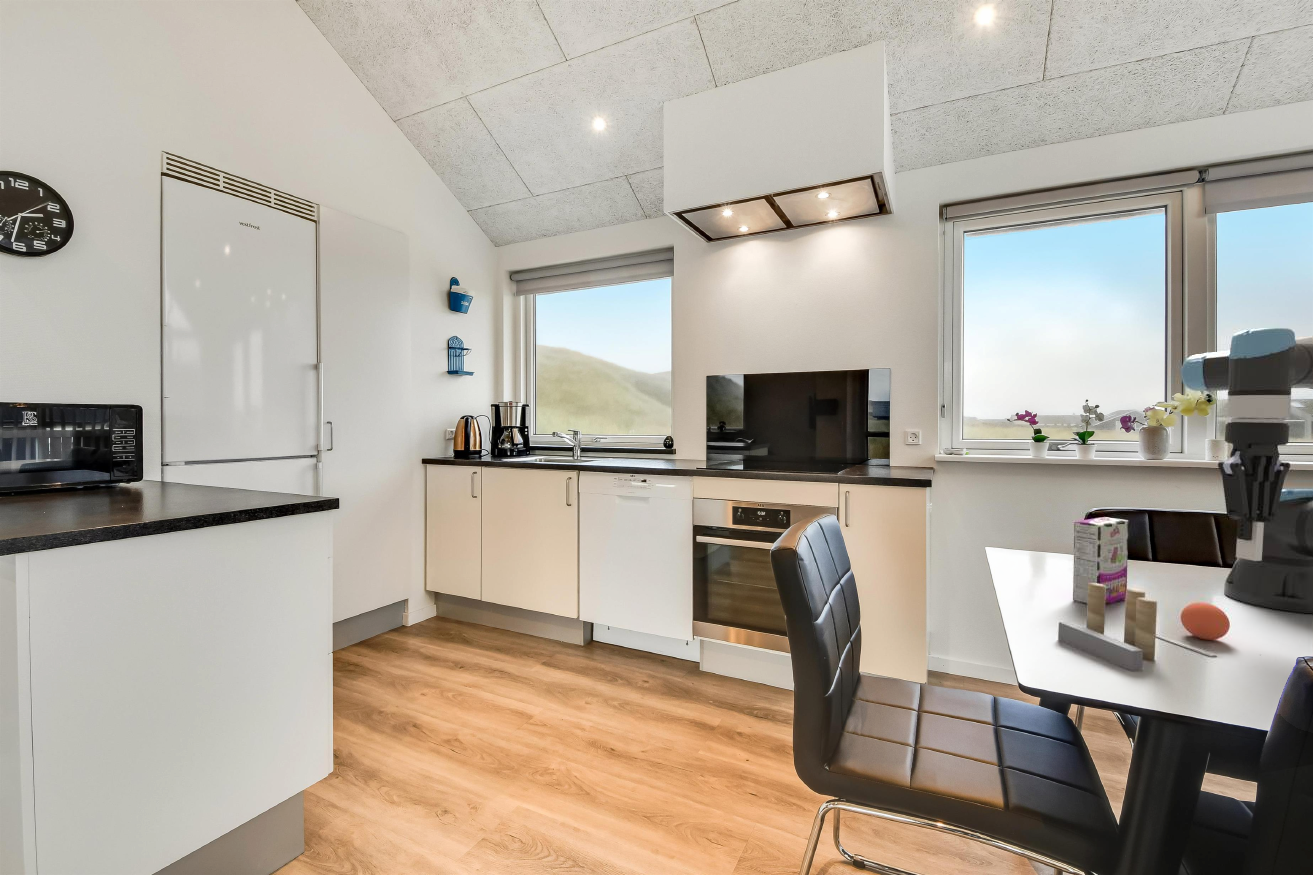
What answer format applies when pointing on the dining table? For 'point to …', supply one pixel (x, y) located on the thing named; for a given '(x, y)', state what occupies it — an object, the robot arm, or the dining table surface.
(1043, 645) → the dining table surface
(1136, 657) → the rail
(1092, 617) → the back pin right
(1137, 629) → the back pin left
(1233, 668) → the dining table surface
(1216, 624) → the ball
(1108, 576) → the candy bar box
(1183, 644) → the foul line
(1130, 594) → the front pin
